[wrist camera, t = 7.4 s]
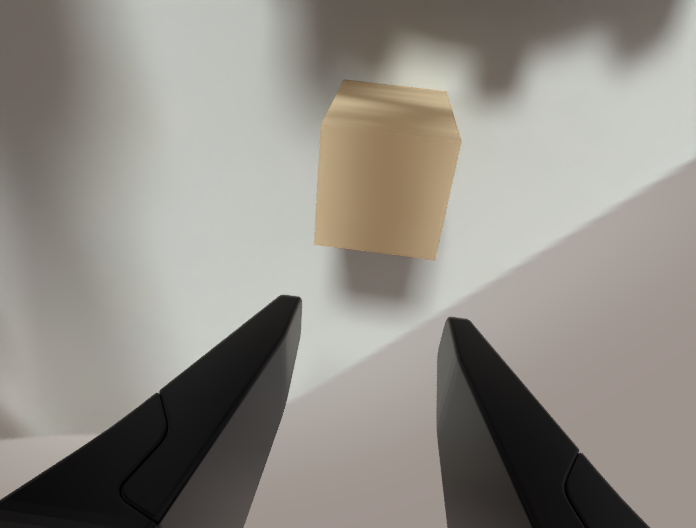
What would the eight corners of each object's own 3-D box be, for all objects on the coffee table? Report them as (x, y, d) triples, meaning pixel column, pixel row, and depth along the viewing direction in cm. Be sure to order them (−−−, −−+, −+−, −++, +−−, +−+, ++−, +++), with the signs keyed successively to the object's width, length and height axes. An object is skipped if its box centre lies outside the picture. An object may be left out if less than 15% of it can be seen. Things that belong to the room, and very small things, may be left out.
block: (336, 175, 21) (314, 244, 16) (344, 79, 19) (320, 124, 14) (428, 186, 21) (434, 260, 16) (446, 91, 18) (461, 141, 13)
